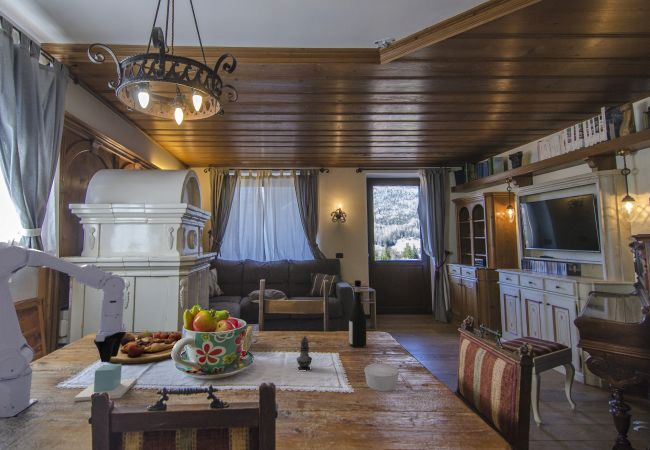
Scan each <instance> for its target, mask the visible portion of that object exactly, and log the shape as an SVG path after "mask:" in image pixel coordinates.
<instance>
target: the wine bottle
mask: <svg viewBox="0 0 650 450" xmlns="http://www.w3.org/2000/svg"><path fill="white" fill-rule="evenodd" d="M361 289H362V280H357V279H356V280H354V303H353V306H352V309H351V311H350V313H349V318H348V319H349V320H348V344H349V346H350V347H351V348H355V347H362V348H365V347H366V346H367V317H366V313H365V311H364V310H365V309H364V308H363V304H362V300H361V299H362V298H361V294H362V293H361V292H362V291H361ZM364 346H365V347H364Z"/></svg>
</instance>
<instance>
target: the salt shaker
mask: <svg viewBox="0 0 650 450" xmlns="http://www.w3.org/2000/svg"><path fill="white" fill-rule="evenodd" d="M299 349H300V354H299V356H297V357H296V361H297V364H298V365H299V366H297V368H298V369H299V370H306V371H305V372H308V371H307V370H309V371H311V370H310V367H311V366H310V365H311V363H312V361H313V358H312V357H311V356H310V355H309V352H310V351H309V350H310V347H309V339H308V338H307V337H306V335H304V336H303V338H301V339H300V348H299ZM299 370H298V371H299Z"/></svg>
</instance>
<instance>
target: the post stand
mask: <svg viewBox="0 0 650 450" xmlns="http://www.w3.org/2000/svg"><path fill="white" fill-rule="evenodd" d="M136 382H137V378H124V379H122V378H121V383H120V384H119V385H118V386H117V387H116V388H115V389H114V390H110V391H95V392H94V382H92V383H91V384H90V385H89V386H88V385H87V387H85V388H84V389H83V390H82V391H81V392H79V393H78V394H77V395H75V396H74V398H73V402H81V401H92V400H91V395H92V394H94V393H98V392H107V393H109V395H110V399H109V400H111V399H120V398H122V397H123V396H124V395H125V394H126V393H127V392H128V391H129V390H130V389H131V388H132V387H133V386H134V385H135V384H136Z"/></svg>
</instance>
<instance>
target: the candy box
mask: <svg viewBox="0 0 650 450" xmlns="http://www.w3.org/2000/svg"><path fill="white" fill-rule="evenodd" d="M246 330H247V333H246V337H245V341H244V345H243V350H245V351H248V350H250V349H251V347H252V345H253V325H248V326H247V328H246ZM246 330H245V331H246ZM251 344H252V345H251ZM250 346H251V347H250ZM248 352H249V351H248Z"/></svg>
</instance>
